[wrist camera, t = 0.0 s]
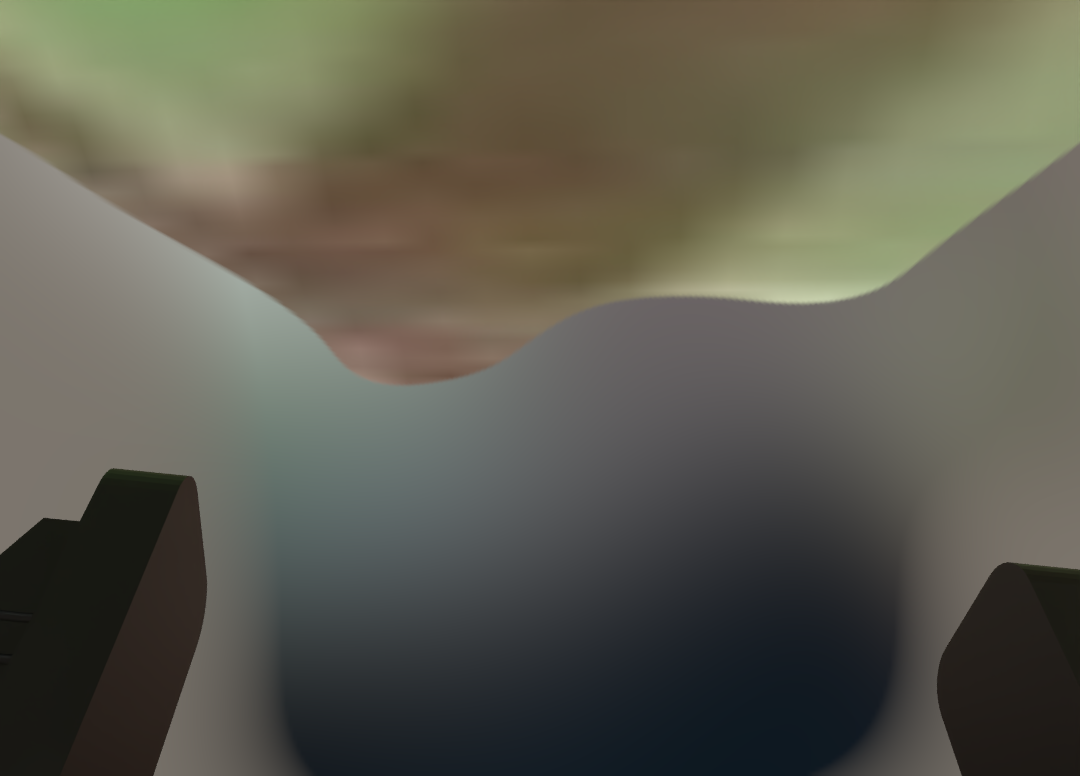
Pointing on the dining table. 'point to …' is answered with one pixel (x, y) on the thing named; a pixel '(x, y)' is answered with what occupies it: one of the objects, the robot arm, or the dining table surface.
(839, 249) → the dining table surface
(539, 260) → the dining table surface
